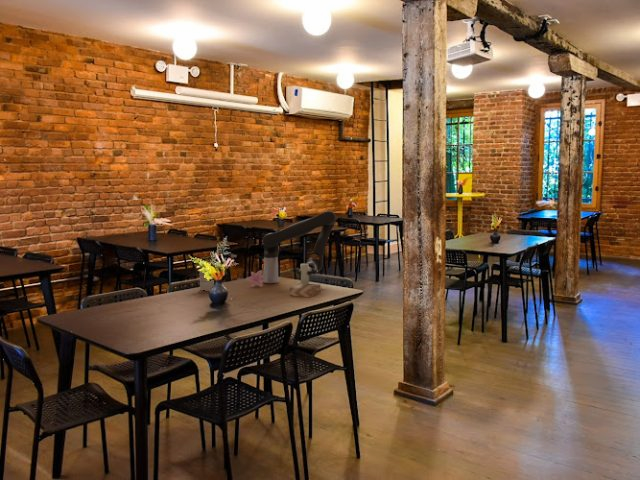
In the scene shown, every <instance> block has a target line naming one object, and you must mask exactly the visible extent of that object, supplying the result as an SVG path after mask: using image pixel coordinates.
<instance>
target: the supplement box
mask: <svg viewBox="0 0 640 480" xmlns="http://www.w3.org/2000/svg"><path fill="white" fill-rule="evenodd" d="M209 263H210V264H211V263H212V262H209ZM213 284H214V280H211V281H207V280H206V279H205V278H204V274H203V273H202V272H200V271H199V290H200V291H203V290H205V291H204V292H210V291H209V289H210V287H212V286H213Z"/></svg>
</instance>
